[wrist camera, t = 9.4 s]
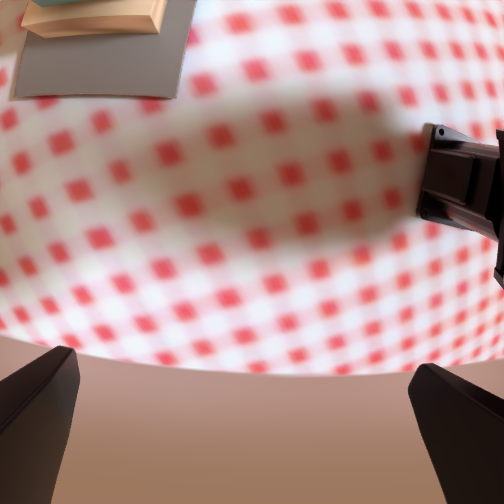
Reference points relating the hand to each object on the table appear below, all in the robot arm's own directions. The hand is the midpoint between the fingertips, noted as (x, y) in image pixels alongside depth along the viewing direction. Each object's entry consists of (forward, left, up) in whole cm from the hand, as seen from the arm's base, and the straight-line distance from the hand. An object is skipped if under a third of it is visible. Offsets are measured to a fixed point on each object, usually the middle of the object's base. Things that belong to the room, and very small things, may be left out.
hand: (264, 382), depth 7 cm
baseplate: (+9, -14, -12) cm, 20 cm away
